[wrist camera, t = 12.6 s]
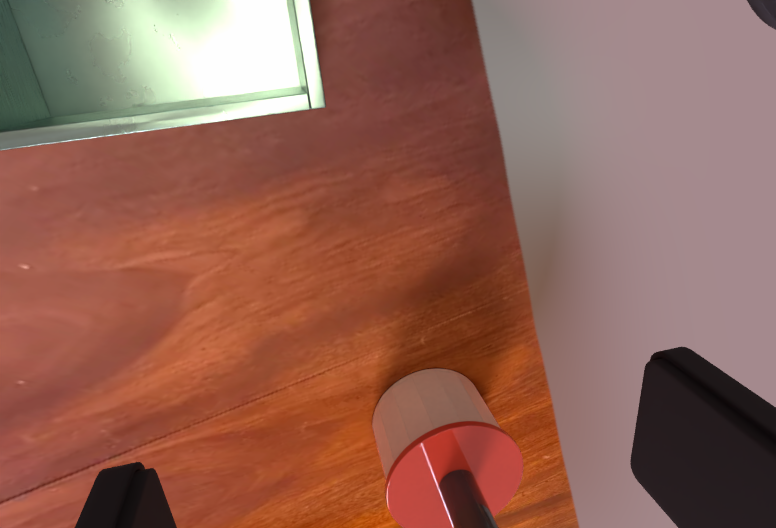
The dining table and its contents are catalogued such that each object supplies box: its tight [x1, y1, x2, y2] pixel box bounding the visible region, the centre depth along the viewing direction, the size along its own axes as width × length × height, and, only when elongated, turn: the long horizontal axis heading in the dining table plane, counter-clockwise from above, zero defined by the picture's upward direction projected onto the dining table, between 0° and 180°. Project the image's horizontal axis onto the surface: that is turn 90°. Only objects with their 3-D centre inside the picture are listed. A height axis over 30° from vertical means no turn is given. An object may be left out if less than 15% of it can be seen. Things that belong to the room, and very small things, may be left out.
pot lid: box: [385, 421, 523, 528], centre depth 36 cm, size 11×11×7 cm
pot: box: [372, 368, 501, 480], centre depth 42 cm, size 10×10×8 cm
